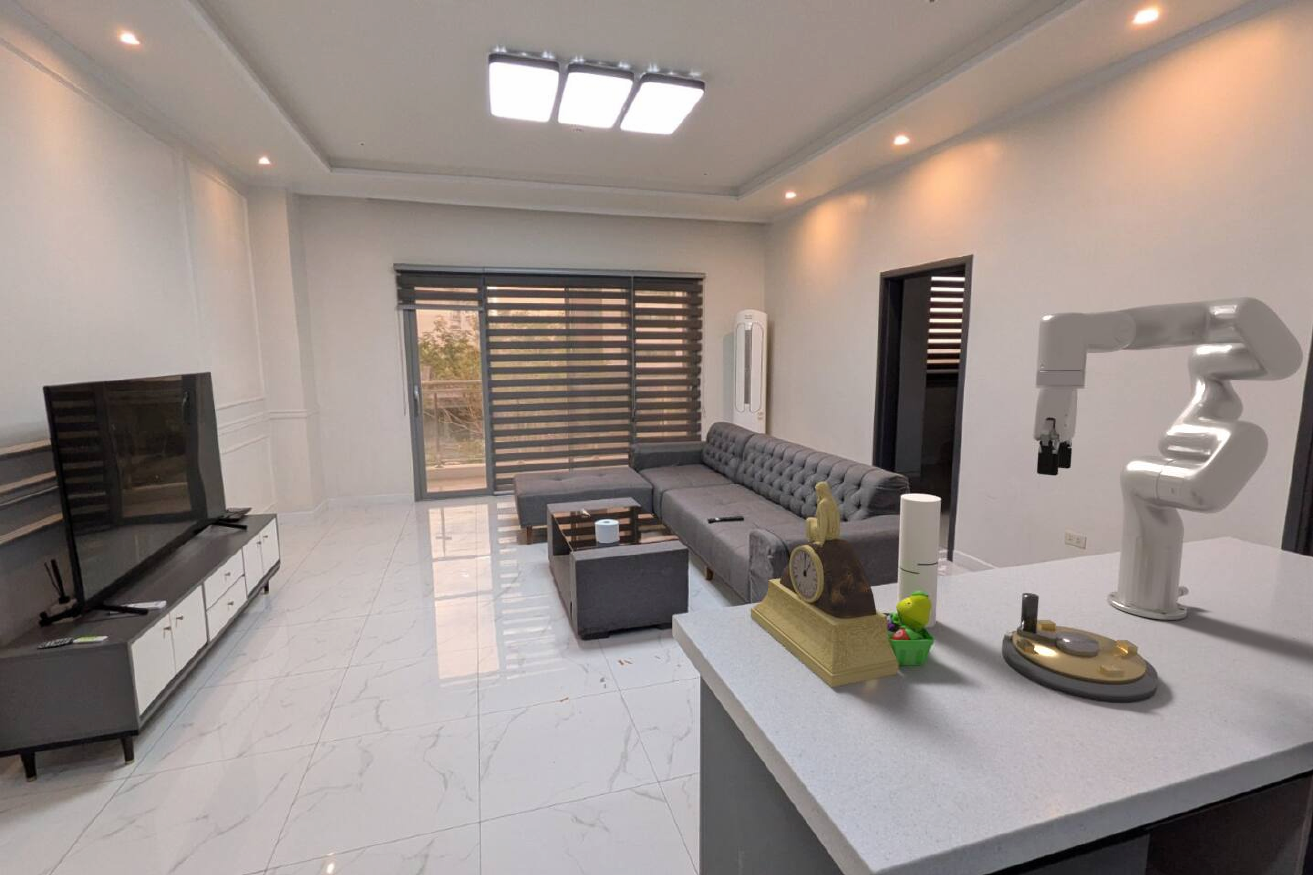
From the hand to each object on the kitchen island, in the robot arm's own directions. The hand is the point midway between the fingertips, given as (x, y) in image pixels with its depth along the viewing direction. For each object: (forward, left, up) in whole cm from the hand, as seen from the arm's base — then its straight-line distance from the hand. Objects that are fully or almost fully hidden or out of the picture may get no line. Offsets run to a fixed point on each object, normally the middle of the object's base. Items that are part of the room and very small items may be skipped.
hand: (1054, 471), depth 111 cm
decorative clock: (+46, -9, -31) cm, 56 cm away
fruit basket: (+34, 0, -31) cm, 46 cm away
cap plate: (+11, +14, -30) cm, 35 cm away
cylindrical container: (+22, -10, -31) cm, 39 cm away
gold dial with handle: (+11, +14, -28) cm, 33 cm away
